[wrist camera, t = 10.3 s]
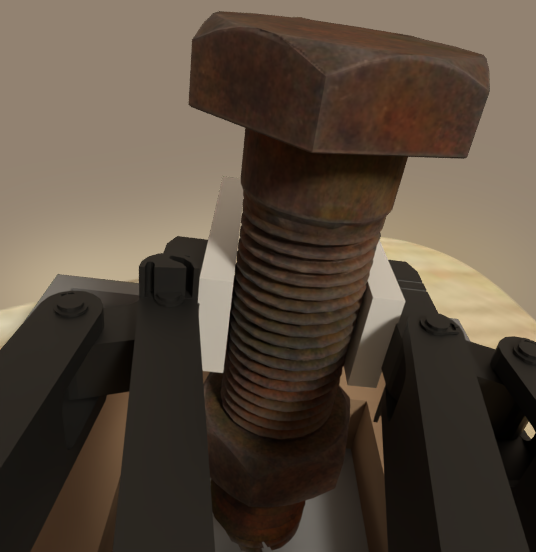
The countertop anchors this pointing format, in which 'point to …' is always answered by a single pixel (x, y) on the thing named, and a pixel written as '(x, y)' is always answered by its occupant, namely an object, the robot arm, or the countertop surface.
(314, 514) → the open box
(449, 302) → the countertop surface
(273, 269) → the bolt
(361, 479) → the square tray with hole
